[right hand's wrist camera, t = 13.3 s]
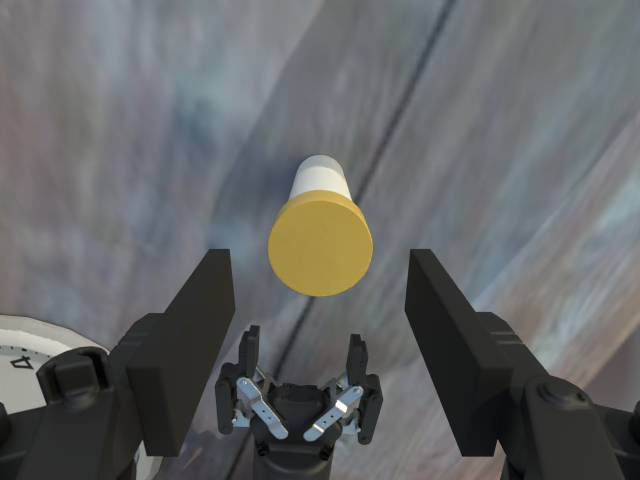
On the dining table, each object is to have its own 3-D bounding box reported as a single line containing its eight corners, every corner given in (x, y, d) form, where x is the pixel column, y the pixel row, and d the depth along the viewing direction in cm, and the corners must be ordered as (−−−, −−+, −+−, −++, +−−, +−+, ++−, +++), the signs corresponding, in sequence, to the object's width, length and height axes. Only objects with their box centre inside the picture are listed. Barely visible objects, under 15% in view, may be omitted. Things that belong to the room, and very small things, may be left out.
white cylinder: (326, 211, 33) (331, 300, 19) (286, 186, 32) (260, 259, 18) (353, 172, 32) (381, 235, 17) (312, 145, 31) (306, 187, 17)
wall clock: (202, 498, 44) (-11, 543, 48) (206, 485, 46) (-1, 529, 49) (73, 289, 34) (-190, 364, 37) (84, 281, 35) (-170, 354, 39)
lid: (333, 293, 20) (334, 313, 18) (254, 248, 19) (248, 264, 17) (386, 223, 19) (393, 236, 17) (305, 170, 18) (303, 178, 16)
